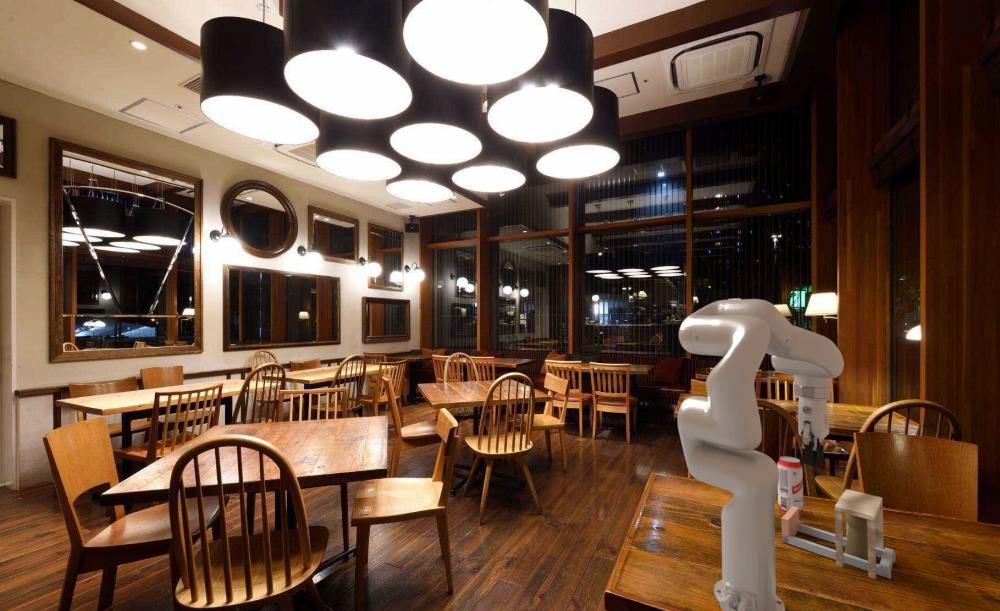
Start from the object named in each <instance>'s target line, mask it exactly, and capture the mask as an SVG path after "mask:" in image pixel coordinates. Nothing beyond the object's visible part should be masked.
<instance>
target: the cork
mask: <svg viewBox="0 0 1000 611" xmlns="http://www.w3.org/2000/svg"><path fill="white" fill-rule="evenodd" d="M846 522H847V524H848V525H849V527H848V534H847V541H846V547H845V546H844V547H845V548H844V553H845V554H848V555H851V556H855V557H858V558H861V559H864V560H867V561H868V535H867V519H865V518H861V517H858V516H854V515H851V514H846V513H845V523H846ZM876 564H878V563H877V561H876Z"/></svg>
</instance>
